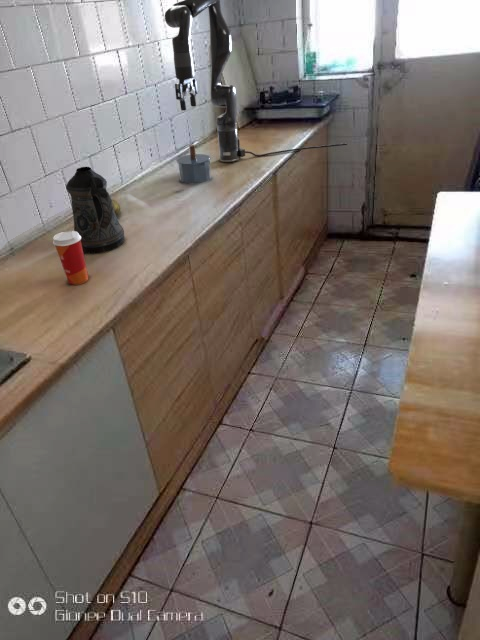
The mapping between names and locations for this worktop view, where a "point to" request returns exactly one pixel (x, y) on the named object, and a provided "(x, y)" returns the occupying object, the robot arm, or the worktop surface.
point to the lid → (193, 158)
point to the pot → (195, 172)
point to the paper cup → (71, 256)
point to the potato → (116, 207)
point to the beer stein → (94, 212)
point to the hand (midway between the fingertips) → (188, 108)
